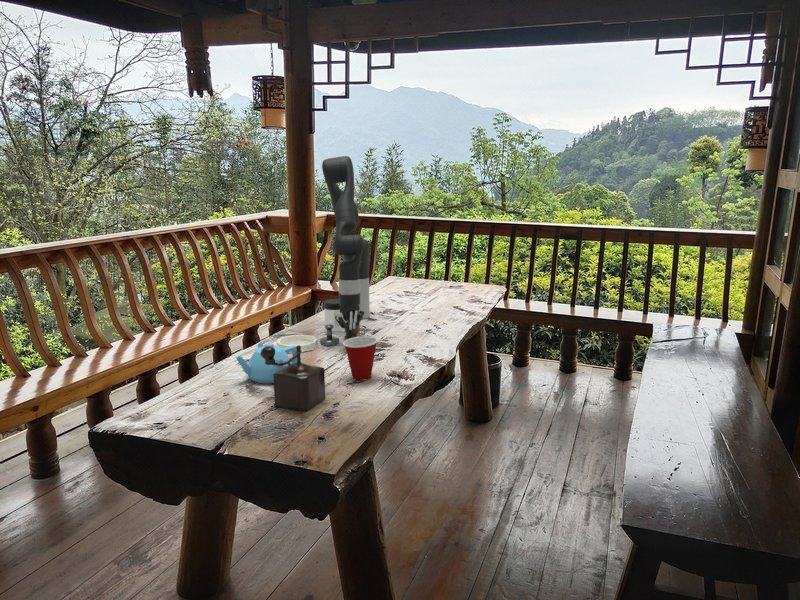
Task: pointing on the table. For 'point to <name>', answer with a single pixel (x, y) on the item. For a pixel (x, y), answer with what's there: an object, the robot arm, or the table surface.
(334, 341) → the base
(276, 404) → the coffee grinder
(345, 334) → the crank
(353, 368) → the plastic cup
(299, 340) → the dish
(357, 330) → the block
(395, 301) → the table surface
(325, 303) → the jar
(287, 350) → the teapot
